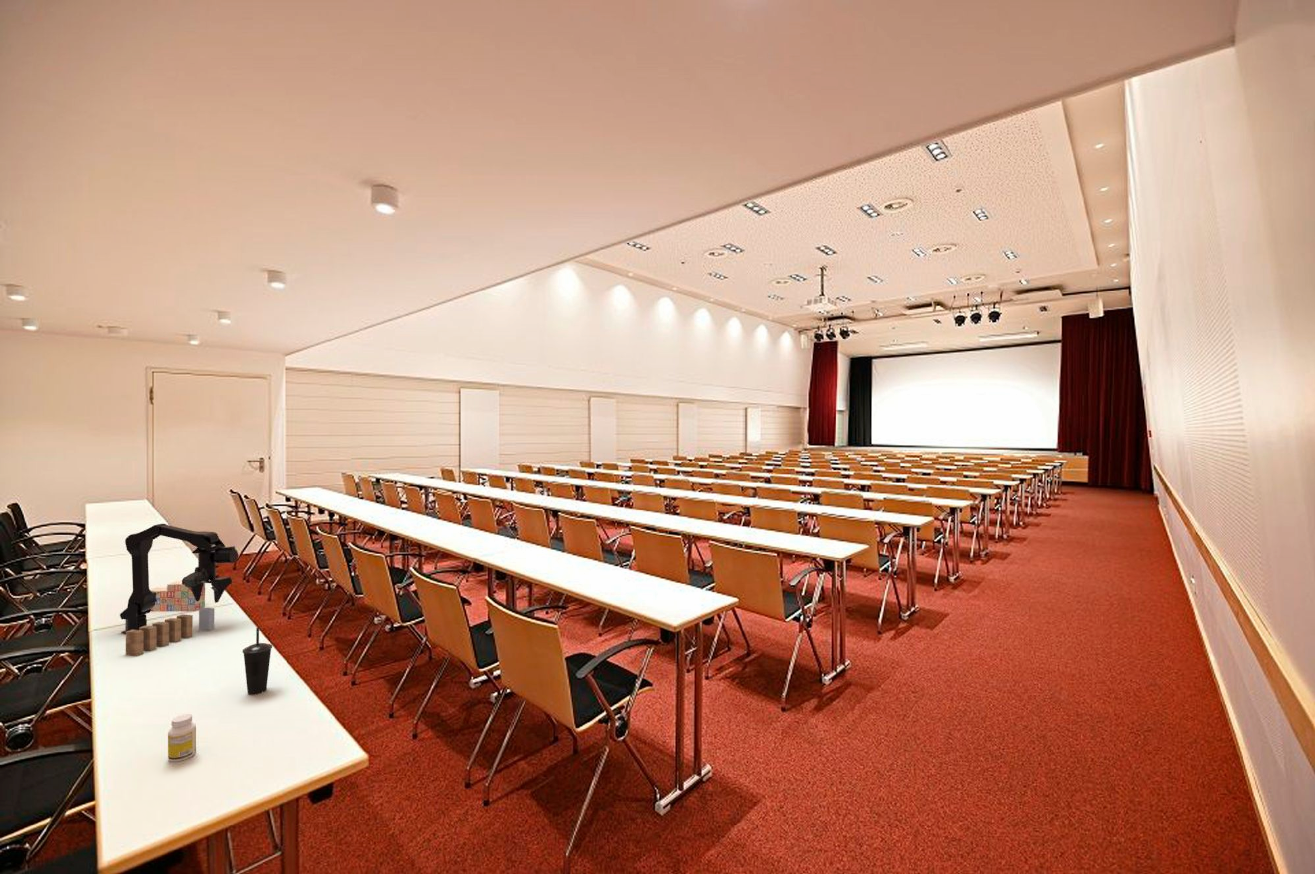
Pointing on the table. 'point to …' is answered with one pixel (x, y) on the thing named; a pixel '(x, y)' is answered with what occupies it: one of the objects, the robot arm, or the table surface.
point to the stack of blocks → (177, 598)
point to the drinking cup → (257, 666)
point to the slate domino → (206, 619)
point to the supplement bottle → (181, 738)
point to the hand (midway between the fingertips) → (207, 601)
